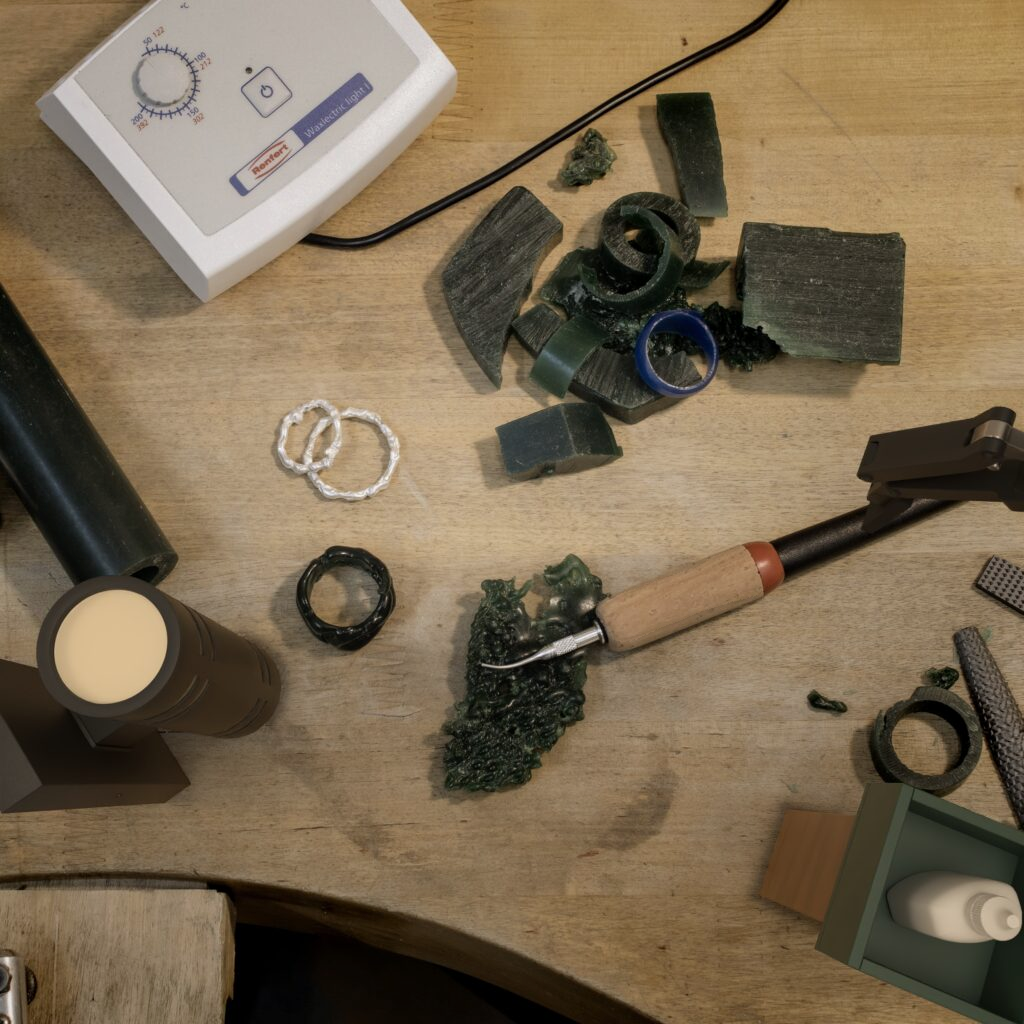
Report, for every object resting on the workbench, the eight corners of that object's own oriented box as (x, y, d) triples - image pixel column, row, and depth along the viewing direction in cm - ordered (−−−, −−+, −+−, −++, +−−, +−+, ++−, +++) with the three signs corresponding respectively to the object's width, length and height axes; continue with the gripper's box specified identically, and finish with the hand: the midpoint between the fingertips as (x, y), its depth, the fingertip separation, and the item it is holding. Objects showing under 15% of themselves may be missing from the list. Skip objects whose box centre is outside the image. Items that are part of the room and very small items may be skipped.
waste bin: (1027, 849, 72) (1081, 855, 65) (980, 1020, 69) (1032, 1045, 63) (866, 782, 73) (903, 782, 66) (813, 948, 70) (847, 965, 64)
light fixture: (304, 707, 98) (213, 671, 66) (166, 804, 96) (2, 815, 64) (244, 616, 100) (128, 538, 68) (107, 708, 98) (-80, 673, 66)
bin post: (868, 843, 96) (995, 864, 72) (841, 930, 94) (962, 981, 70) (785, 808, 96) (883, 817, 72) (757, 894, 95) (847, 932, 70)
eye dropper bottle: (961, 945, 70) (1056, 978, 58) (879, 918, 70) (956, 945, 58) (974, 878, 71) (1069, 897, 59) (892, 852, 71) (971, 866, 59)
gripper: (888, 415, 45) (767, 532, 65) (1475, 640, 43) (1159, 688, 63) (939, 268, 47) (805, 426, 67) (1504, 477, 44) (1188, 574, 65)
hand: (976, 553), depth 65 cm, fingers open, 13 cm apart
